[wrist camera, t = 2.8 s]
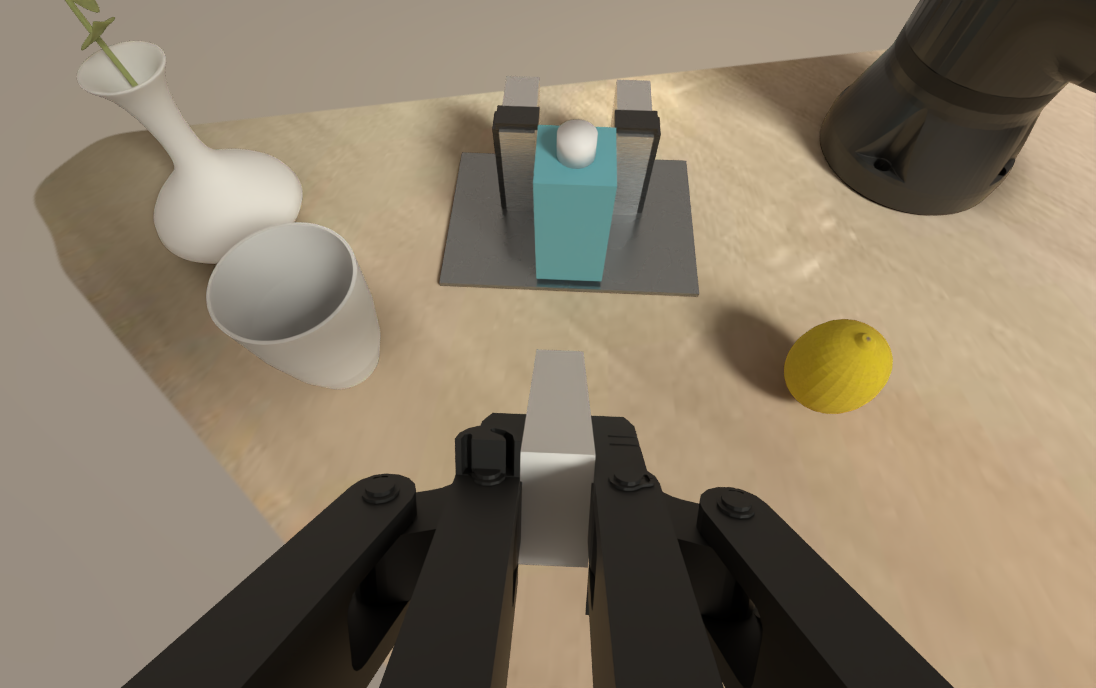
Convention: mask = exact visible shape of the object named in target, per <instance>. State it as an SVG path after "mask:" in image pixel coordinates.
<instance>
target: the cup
mask: <svg viewBox="0 0 1096 688" xmlns="http://www.w3.org/2000/svg"><path fill="white" fill-rule="evenodd" d="M206 302H207V308H208V311H209V314H210V316H211V318H212V320H213V321H214V323H215V324H216V325H217V326H218V328H219V329H221V330H222V331H223V332H224V333H226V334H227V335H228V336H230V337H231V338H232V339H234V340H235V341H237V342H238V343H239V344H241V345H242V346H244V347H245V348H246V349H248V350H249V351H250V352H252V353H253V354H255V355H256V356H257V357H259V358H260V359H262V360H263V361H264V362H266V363H267V364H269V365H270V366H272V367H274V368H276V369H278V370H280V371H282V372H284V373H286V374H288V375H290V376H293V377H295V378H297V379H299V380H301V381H303V382H305V383H308V384H311V385H316V386H321V387H325V388H330V389H347V388H350V387H353V386H356V385H358V384H360V383H361V382H363V381H364V380H366V379H367V378H368V377H369V376H370V375H371V374H372V372H373V371H374V369H375V368H376V366H377V363H378V360H379V355H380V328H379V323H378V319H377V315H376V311H375V306H374V302H373V298H372V295H371V292H370V290H369V288H368V285H367V283H366V281H365V278H364V276H363V274H362V271H361V269H360V267H359V264H358V262H357V260H356V258H355V255H354V253H353V251H352V249H351V247H350V246H349V244H348V243H347V242H346V240H345V239H344V238H343V237H341V236H340V235H339V234H338V233H336V232H334V231H333V230H331V229H329V228H326V227H324V226H321V225H317V224H312V223H303V222H294V223H284V224H279V225H274V226H271V227H268V228H265V229H262V230H260V231H257V232H255V233H253V234H251V235H249V236H248V237H246V238H244V239H243V240H241V241H240V242H238V243H237V244H236V245H235V246H233V247H232V248H231V249H230V250H229V251H228V252H227V253H226V254H225V255H224V256H223V257H222V258H221V260H220V261H219V262H218V264H217V265H216V267H215V269H214V270H213V272H212V274H211V277H210V279H209V282H208V286H207V292H206Z"/></svg>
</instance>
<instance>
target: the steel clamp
mask: <svg viewBox="0 0 1096 688" xmlns="http://www.w3.org/2000/svg"><path fill="white" fill-rule="evenodd" d="M538 125H540V78H539V77H517V76H516V77H515V76H506V83H505V90H504V98H503V105H502V106H500V105H498V106H497V111H495V113H494V120H493V127H492V131H493V140H494V148H495V154H489V153H462V156H461V162H460V168H459V173H458V179H457V185H456V190H455V196H454V202H453V208H452V213H451V219H450V225H449V230H448V236H447V242H446V248H445V253H444V259H443V265H442V270H441V276H440V282H439V283H440V286H459V287H482V288H505V289H529V290H552V291H575V292H599V293H622V294H646V295H669V296H692V297H698V295H699V287H698V277H697V267H696V257H695V246H694V236H693V226H692V216H691V205H690V195H689V185H688V174H687V164H686V161H679V160H655V157H656V152H657V148H658V144H659V140H660V136H661V132H660V118H659V117H658V114H657V111H652V101H651V85H650V81H637V80H617V82H616V90H615V98H614V105H613V113H612V121H611V128H616V146H617V190H616V196H615V202H614V208H613V214H612V220H611V226H610V233H609V239H608V245H607V251H606V257H605V263H604V269H603V275H602V281H581V280H557V279H536V254H535V226H534V197H533V178H534V166H535V154H536V143H537V131H538Z"/></svg>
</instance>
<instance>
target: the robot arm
mask: <svg viewBox="0 0 1096 688" xmlns="http://www.w3.org/2000/svg"><path fill="white" fill-rule="evenodd" d="M1069 82H1070V83H1073V84H1075V85H1078V86H1080V87H1082V88H1085V89H1087V90H1089V91H1092V92H1094V93H1096V0H920V1H919V3H918V4H917V6H916V8H915V9H914V11H913V12H912V14H911V16H910V18H909V19H908V21H907V22H906V24H905V26H904V27H903V29H902V30H901V32H900V34H899V35H898V37H897V39H896V40H895V42H894V43H893V45H892V46H891V47H890V48H889V49H888V50H886V51H885V52H884V53H883V54H882V55H881V56H880V57H879V58H878V59H877V60H876V61H875V62H874V63H873V64H872V65H871V66H870V67H869V68H868V69H867V70H866V71H865V72H864V73H863V74H862V75H861V76H860V77H859V78H858V79H857V80H856V81H855V82H854V83H853V84H851V85H850V86H849V87H848V88H846V89H845V90H844V91H843V92H842V93H841V94H840V95H839V96H838V98H837V99H836V100H835V102H834V104H833V105H832V107H831V109H830V111H829V112H828V114H827V116H826V118H825V120H824V121H823V124H822V126H821V131H820V143H821V148H822V151H823V153H824V156H825V158H826V160H827V162H828V163H829V165H830V166H831V168H832V169H833V170H834V171H835V173H836V174H837V175H838V176H839V177H840V178H841V179H842V180H843V181H844V182H845V183H847V184H848V185H849V186H850V187H852V188H853V189H854V190H856V191H857V192H859V193H860V194H862V195H864V196H865V197H867V198H869V199H871V200H873V201H875V202H877V203H879V204H882V205H884V206H887V207H890V208H893V209H896V210H899V211H903V212H908V213H913V214H920V215H947V214H954V213H958V212H962V211H965V210H967V209H970V208H972V207H974V206H976V205H977V204H979V203H980V202H981V201H983V200H984V199H985V198H986V197H987V196H988V195H989V194H990V193H991V192H992V191H993V190H994V189H995V188H996V187H997V186H999V185H1000V184H1001V183H1002V181H1003V180H1004V179H1005V178H1006V177H1007V175H1008V174H1009V172H1010V170H1011V169H1012V167H1013V165H1014V162H1015V158H1016V157H1017V155H1018V154H1019V152H1020V151H1021V149H1022V147H1023V145H1024V144H1025V142H1026V140H1027V138H1028V136H1029V134H1030V132H1031V130H1032V128H1033V127H1034V125H1035V123H1036V121H1037V119H1038V117H1039V115H1040V113H1041V111H1042V110H1043V108H1044V107H1045V106H1046V105H1047V104H1048V103H1049V102H1050V101H1051V100H1052V99H1053V98H1054V97H1055V96H1056V95H1057V94H1058V93H1059V92H1060V91H1061V90H1062V89H1063V88H1064V87H1065V86H1066V85H1067V84H1068V83H1069ZM455 462H456V475H455V478H454V481H453V483H452V484H451V485H448V486H445V487H443V488H439V489H435V490H429V491H422V492H416V488H415V483H414V482H412V481H411V480H410V479H409V478H407V477H404V476H401V475H397V474H381V475H380V474H378V475H373V476H371V477H368V478H365V479H362V480H360V481H358V482H357V483H355V484H354V485H352V486H351V487H350V488H348V489H347V490H346V491H345V492H344V493H343V494H342V495H340V496H339V497H338V498H337V499H336V500H335V501H334V502H332V503H331V504H330V505H329V506H328V507H327V508H326V509H324V510H323V511H322V512H321V513H320V514H319V515H318V516H316V517H315V518H314V519H313V520H312V521H311V522H310V523H308V524H307V525H306V526H305V527H304V528H303V529H302V530H300V531H299V532H298V533H297V534H296V535H295V536H294V537H292V538H291V539H290V540H289V541H288V542H287V543H286V544H284V545H283V546H282V547H281V548H280V549H279V550H278V551H277V552H275V553H274V554H273V555H272V556H271V557H270V558H269V559H267V560H266V561H265V562H264V563H263V564H262V565H261V566H260V567H258V568H257V569H256V570H255V571H254V572H253V573H251V574H250V575H249V576H248V577H247V578H246V579H245V580H244V581H242V582H241V583H240V584H239V585H238V586H237V587H236V588H234V589H233V590H232V591H231V592H230V593H229V594H227V596H225V597H224V598H223V599H222V600H221V601H219V602H218V603H217V604H216V605H215V606H214V607H213V608H211V609H210V610H209V611H208V612H207V613H206V614H205V615H203V616H202V617H201V618H200V619H199V620H198V621H197V622H196V623H194V624H193V625H192V626H191V627H190V628H189V629H187V631H185V632H184V633H183V634H182V635H181V636H179V637H178V638H177V639H176V640H175V641H174V642H173V643H172V644H170V645H169V646H168V647H167V648H166V649H165V650H164V651H162V652H161V653H160V654H159V655H158V656H157V657H156V658H154V659H153V660H152V661H151V662H150V663H149V664H148V665H146V666H145V667H144V668H143V669H142V670H141V671H140V672H138V674H136V675H135V676H134V677H133V678H132V679H131V680H129V681H128V682H127V683H126V684H125V685H124V686H122V687H121V688H367V686H368V685H369V683H370V682H371V680H372V678H373V677H374V675H375V674H376V672H377V671H378V669H379V668H380V666H381V665H382V663H383V662H384V660H385V659H386V657H387V656H388V654H389V652H390V651H391V649H392V648H393V646H394V648H393V651H392V653H391V656H390V659H389V662H388V664H387V667H386V670H385V673H384V676H383V678H382V682H381V684H380V687H379V688H506V686H507V677H508V668H509V658H510V649H511V640H512V631H513V622H514V612H515V603H516V594H517V585H518V564H525V565H546V566H566V567H587V568H588V556H589V571H588V585H587V600H586V614H585V615H589V620H590V638H591V656H592V673H593V688H724V687H723V684H724V686H725V688H954V687H953V686H952V685H951V684H950V683H949V682H948V681H947V680H946V679H945V678H944V677H942V676H941V675H940V674H939V673H938V672H937V671H936V670H935V669H934V668H933V667H932V666H931V665H930V664H929V663H928V662H927V661H926V660H925V659H924V658H923V657H922V656H921V655H920V654H919V653H918V652H917V651H916V650H915V649H914V648H913V647H912V646H911V645H910V644H909V643H908V642H907V641H906V640H905V639H904V638H903V637H902V636H901V635H900V634H899V633H898V632H897V631H896V630H895V629H894V628H893V627H892V626H891V625H890V624H889V623H888V622H887V621H885V620H884V619H883V618H882V617H881V616H880V615H879V614H878V613H877V612H876V611H875V610H874V609H873V608H872V607H871V606H870V605H869V604H868V603H867V602H866V601H865V600H864V599H863V598H862V597H861V596H860V595H859V594H858V593H857V592H856V591H855V590H854V589H853V588H852V587H851V586H850V585H849V584H848V583H847V582H846V581H845V580H844V579H843V578H842V577H841V576H840V575H839V574H838V573H837V572H836V571H835V570H834V569H833V568H832V567H831V566H830V565H828V564H827V563H826V562H825V561H824V560H823V559H822V558H821V557H820V556H819V555H818V554H817V553H816V552H815V551H814V550H813V549H812V548H811V547H810V546H809V545H808V544H807V543H806V542H805V541H804V540H803V539H802V538H801V537H800V536H799V535H798V534H797V533H796V532H795V531H794V530H793V529H792V528H791V527H790V526H789V525H788V524H787V523H786V522H785V521H784V520H783V519H782V518H781V517H780V516H779V515H778V514H777V513H776V512H775V511H774V510H772V509H771V508H770V507H769V506H768V505H767V504H766V503H765V502H764V501H762V500H761V499H760V498H758V497H757V496H755V495H753V494H751V493H748V492H746V491H744V490H741V489H735V488H731V487H716V488H712V489H708V490H706V491H705V492H704V493H703V494H701V497H700V503H699V504H698V503H694V502H690V501H685V500H681V499H678V498H675V497H672V496H670V495H668V494H666V493H664V492H662V489H661V486H660V483H659V482H658V480H657V479H656V477H655V476H654V475H652V474H651V473H649V472H648V471H647V469H646V466H645V462H644V459H643V455H642V452H641V448H640V447H639V441H638V438H637V434H636V431H635V427H634V426H633V425H632V424H631V423H630V422H629V421H628V420H627V419H625V418H624V417H608V416H591V412H590V404H589V395H588V387H587V378H586V370H585V361H584V353H583V351H562V350H538V349H537V350H536V357H535V363H534V369H533V376H532V382H531V389H530V395H529V401H528V408H527V414H506V413H492V414H491V415H489V416H488V417H487V418H486V419H484V420H483V421H482V423H481V426H476V427H472V428H468V429H466V430H464V431H462V432H460V433H459V434H458V435H457V437H456V438H455ZM722 683H723V684H722Z"/></svg>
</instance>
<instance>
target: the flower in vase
mask: <svg viewBox="0 0 1096 688" xmlns="http://www.w3.org/2000/svg"><path fill="white" fill-rule="evenodd" d="M65 1H66V2H67V4H68V5H69V7H70V8H71V9H72V11H73V12H74V13H75V15H76V16H77V17H78V19H79V20H80V21H81V23H82V24H83V25H84V26H85V28H86V29H87V30H88V32H89V33H90V34H89V36H88V37H87V39H86V40H85V42H84V43H83V45H82V48H81V50H84V49H86V48H87V47H88V46H89V45H90V44H92V43H93V42H94V41H96V42H97V43H98V44H99V46H100V47H101V48H102V49H101V50H99V51H97V52H95V53H94V54H92V55H91V56H90V57H88V58H87V59H86V60H85V61H84V62H83V63H82V65H81V66H80V68H79V70H78V72H77V82H78V84H79V86H80V87H81V88H82V89H84V90H85V91H87V92H89V93H91V94H94V95H97V96H100V97H103V98H105V99H108V100H110V101H112V102H114V103H115V104H117V105H119V106H120V107H122V108H123V109H125V110H126V111H127V112H129V113H130V114H131V115H132V116H133V117H135V118H136V119H137V120H138V121H139V122H140V123H141V124H142V125H144V127H145V128H146V129H147V130H148V131H150V133H151V134H152V135H153V136H154V137H155V138H156V139H157V140H158V141H159V143H160V144H161V145H162V146H163V147H164V149H165V150H166V151H167V153H168V154H169V156H170V157H171V159H172V161H173V163H174V170H173V172H172V173H171V174H170V176H169V177H168V179H167V180H166V182H165V183H164V185H163V186H162V188H161V190H160V192H159V195H158V198H157V201H156V204H155V208H154V224H155V228H156V230H157V233H158V236H159V238H160V240H161V242H162V243H163V245H164V246H165V247H166V248H167V249H168V250H169V251H170V252H172V253H173V254H175V255H176V256H179V257H181V258H183V259H186V260H189V261H193V262H199V263H207V264H218V262H219V261H220V260H221V258H222V257H223V256H224V255H225V254H226V253H227V252H228V251H229V250H230V249H231V248H232V247H233V246H235V245H236V244H237V243H238V242H240V241H241V240H243V239H244V238H246V237H248V236H249V235H251V234H253V233H255V232H257V231H260V230H262V229H265V228H268V227H271V226H274V225H279V224H284V223H294V222H295V220H296V218H297V216H298V214H299V211H300V207H301V203H302V186H301V183H300V180H299V178H298V177H297V175H296V173H295V172H294V171H293V170H292V169H291V168H290V167H288V166H287V165H286V164H284V163H283V162H282V161H280V160H279V159H277V158H275V157H274V156H271V155H269V154H266V153H262V152H258V151H253V150H247V149H211V148H209V147H208V146H206V145H205V144H204V143H203V142H202V141H201V140H200V139H199V138H198V137H197V135H196V134H195V133H194V132H193V130H192V129H191V128H190V126H189V125H188V123H187V122H186V120H185V119H184V117H183V116H182V114H181V113H180V111H179V109H178V107H177V106H176V104H175V102H174V100H173V98H172V95H171V93H170V91H169V89H168V85H167V81H166V75H165V68H166V57H165V53H164V52H163V50H162V49H161V48H160V47H159V46H157V45H155V44H152V43H149V42H144V41H127V42H121V43H117V44H113V45H110V46H107V45H106V44H105V42H104V41H103V40H102V39H101V38H100V35H101V34H102V33H103V32H104V30H105V29H106V27H107V26H108V25H109V24H110V23H112V22H113V21H114V19H115V17H112V18H109V19H108V20H106V21H105V22H97V21H95V22H93V27H92V26H91V25H90V23H89V22H88V21H87V20H86V18H85V17H84V16H83V14H82V13H81V12H80V10H79V9H78V8H77V6H76V5H75V3H77V4H78V5H80V6H82V7H83V8H86V9H88V10H90V11H93V12H96V13H98V12H99V11H100V10H99V7H98V5H97V3H96V1H95V0H65ZM74 2H75V3H74Z"/></svg>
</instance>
